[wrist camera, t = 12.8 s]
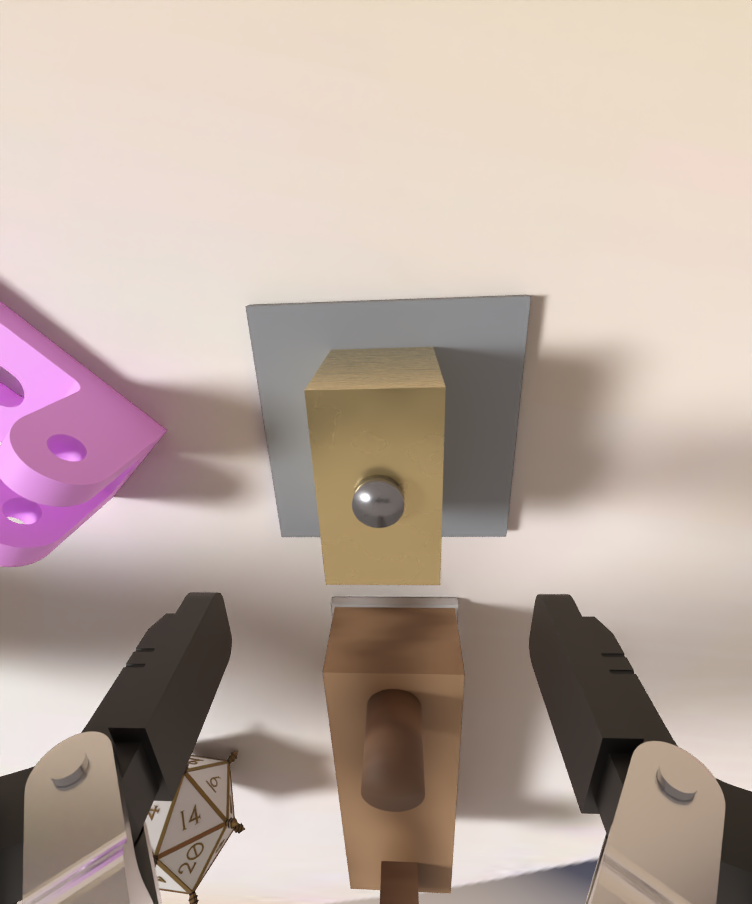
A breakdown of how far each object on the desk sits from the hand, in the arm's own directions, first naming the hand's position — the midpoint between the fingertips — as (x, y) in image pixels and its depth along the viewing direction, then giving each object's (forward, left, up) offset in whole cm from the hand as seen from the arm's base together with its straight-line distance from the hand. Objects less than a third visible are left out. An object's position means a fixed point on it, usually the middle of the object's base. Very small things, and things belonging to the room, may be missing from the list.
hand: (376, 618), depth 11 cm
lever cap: (0, +1, -11) cm, 11 cm away
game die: (-15, -26, -12) cm, 33 cm away
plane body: (0, -21, -12) cm, 24 cm away
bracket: (-18, +3, -12) cm, 22 cm away
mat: (0, +1, -12) cm, 12 cm away
